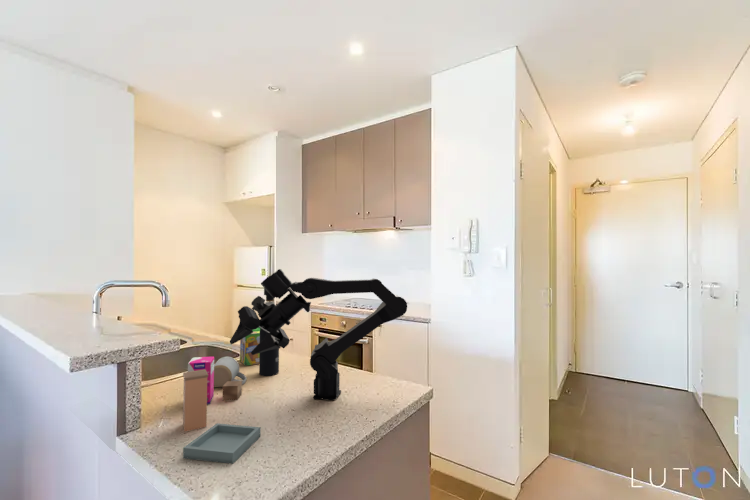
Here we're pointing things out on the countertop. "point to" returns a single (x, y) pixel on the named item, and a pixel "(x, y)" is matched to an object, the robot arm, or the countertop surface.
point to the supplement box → (208, 365)
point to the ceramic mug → (227, 371)
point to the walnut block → (232, 390)
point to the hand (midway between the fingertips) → (241, 348)
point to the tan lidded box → (195, 400)
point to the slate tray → (222, 443)
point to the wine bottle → (270, 357)
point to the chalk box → (250, 348)
